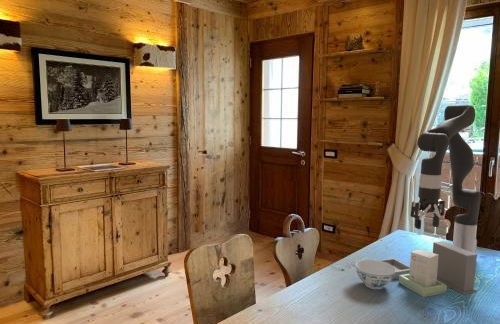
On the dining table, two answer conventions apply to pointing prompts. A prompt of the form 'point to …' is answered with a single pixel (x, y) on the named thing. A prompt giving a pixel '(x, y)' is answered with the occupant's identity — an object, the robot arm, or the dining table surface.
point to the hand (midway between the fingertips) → (426, 227)
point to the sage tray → (421, 290)
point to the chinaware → (375, 273)
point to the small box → (423, 268)
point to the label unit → (455, 267)
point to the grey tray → (397, 267)
